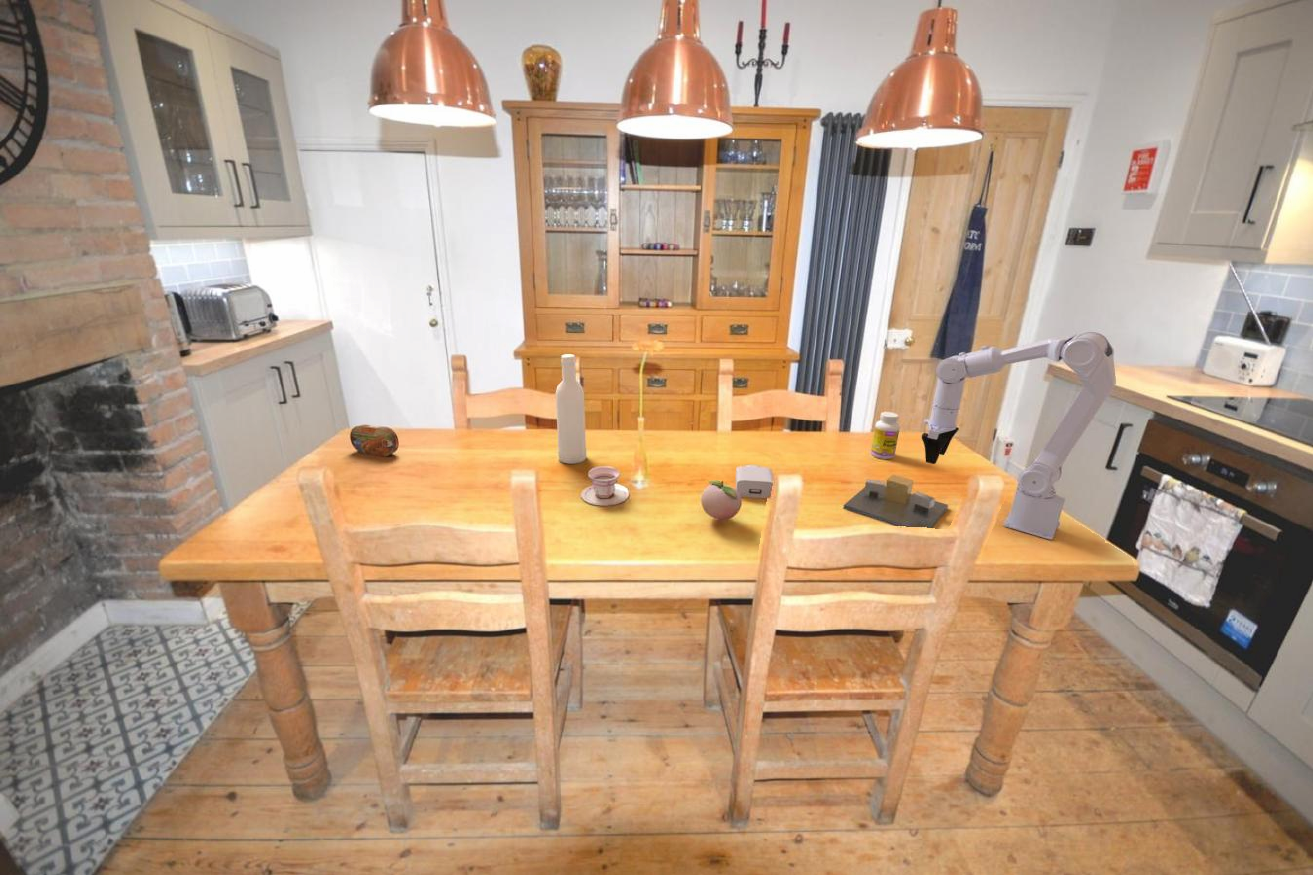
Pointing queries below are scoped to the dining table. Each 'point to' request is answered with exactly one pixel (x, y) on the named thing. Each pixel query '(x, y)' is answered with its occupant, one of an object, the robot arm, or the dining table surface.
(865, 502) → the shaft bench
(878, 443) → the supplement bottle
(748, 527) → the dining table surface
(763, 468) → the charger
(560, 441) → the bottle
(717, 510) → the decorative fruit
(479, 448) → the dining table surface
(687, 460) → the dining table surface
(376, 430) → the tin
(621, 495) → the teacup
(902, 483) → the block
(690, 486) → the dining table surface
